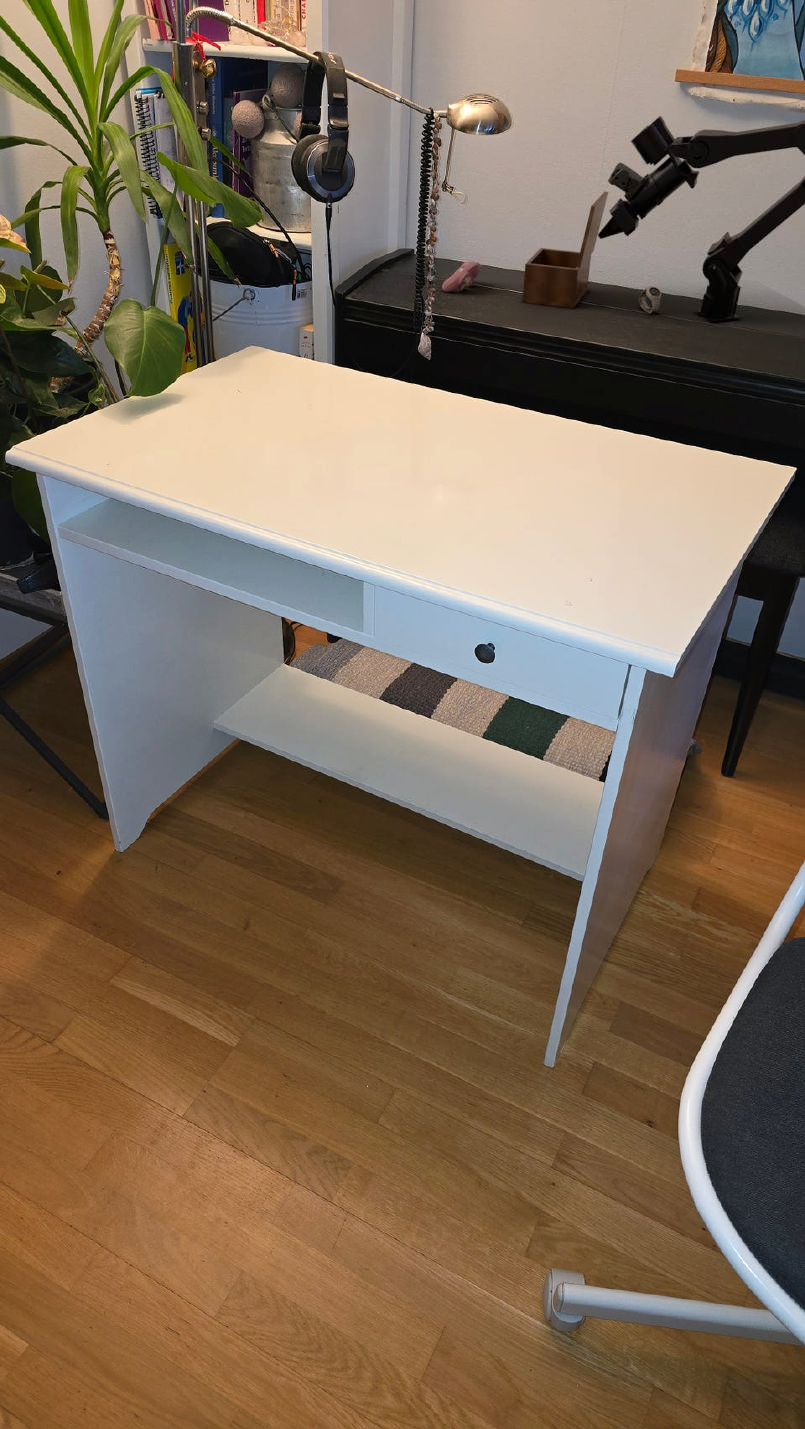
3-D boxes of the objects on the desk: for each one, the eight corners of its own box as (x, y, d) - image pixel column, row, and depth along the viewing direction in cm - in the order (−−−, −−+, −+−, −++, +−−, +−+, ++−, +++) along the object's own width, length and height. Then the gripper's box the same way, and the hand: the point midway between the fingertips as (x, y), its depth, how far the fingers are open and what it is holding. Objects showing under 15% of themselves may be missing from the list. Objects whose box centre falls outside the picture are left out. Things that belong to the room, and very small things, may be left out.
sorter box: (522, 302, 218) (525, 264, 213) (537, 284, 227) (540, 247, 222) (573, 308, 215) (577, 270, 209) (587, 290, 224) (591, 253, 218)
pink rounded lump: (454, 301, 223) (468, 275, 217) (439, 289, 223) (452, 262, 218) (475, 289, 229) (488, 263, 224) (460, 277, 229) (473, 251, 224)
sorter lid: (591, 206, 201) (595, 207, 201) (604, 191, 210) (608, 192, 210) (576, 267, 209) (579, 268, 209) (590, 250, 218) (593, 251, 218)
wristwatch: (648, 316, 211) (652, 291, 208) (634, 306, 216) (637, 283, 212) (662, 314, 212) (667, 290, 209) (648, 305, 216) (651, 281, 213)
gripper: (645, 140, 204) (586, 194, 214) (627, 160, 191) (565, 216, 201) (676, 186, 207) (617, 237, 217) (661, 208, 194) (598, 261, 204)
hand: (599, 236), depth 210 cm, fingers closed
